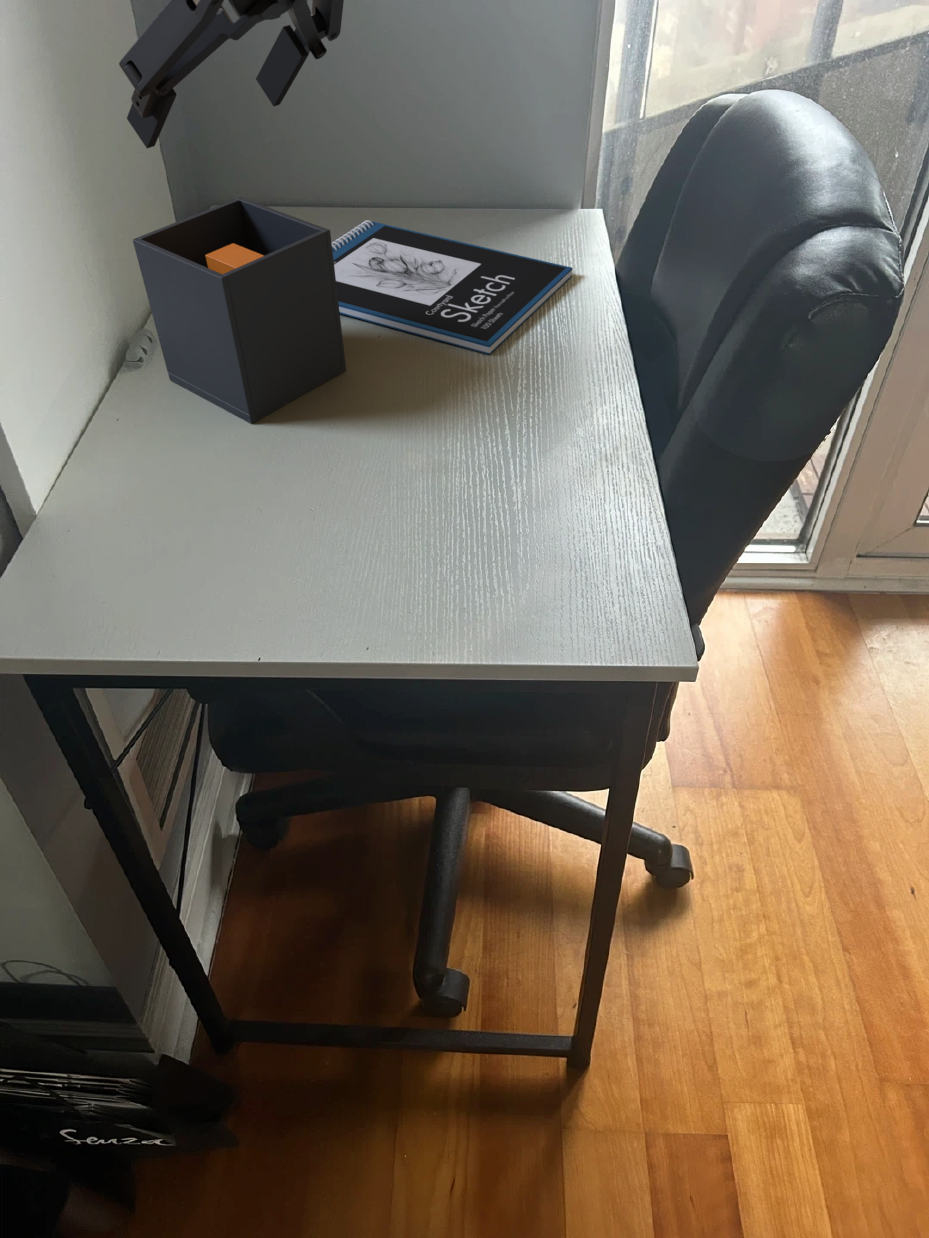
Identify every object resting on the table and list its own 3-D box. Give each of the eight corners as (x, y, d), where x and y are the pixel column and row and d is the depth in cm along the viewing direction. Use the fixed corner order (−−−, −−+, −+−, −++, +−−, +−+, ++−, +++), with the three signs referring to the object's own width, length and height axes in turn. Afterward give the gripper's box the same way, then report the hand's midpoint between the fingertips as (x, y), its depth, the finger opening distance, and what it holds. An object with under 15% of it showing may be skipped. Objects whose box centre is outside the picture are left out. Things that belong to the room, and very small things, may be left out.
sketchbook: (490, 357, 102) (490, 339, 101) (268, 298, 113) (265, 281, 111) (572, 277, 115) (573, 260, 114) (366, 231, 126) (365, 215, 124)
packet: (260, 382, 97) (238, 269, 88) (228, 366, 99) (204, 254, 91) (285, 368, 99) (266, 256, 90) (254, 353, 101) (233, 243, 93)
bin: (251, 424, 93) (221, 278, 83) (169, 380, 99) (132, 239, 89) (346, 370, 100) (330, 229, 90) (264, 332, 106) (240, 197, 96)
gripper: (187, -4, 56) (109, 195, 74) (458, -67, 70) (337, 114, 87) (110, -124, 55) (49, 108, 72) (401, -164, 68) (290, 39, 86)
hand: (207, 111), depth 80 cm, fingers open, 13 cm apart
